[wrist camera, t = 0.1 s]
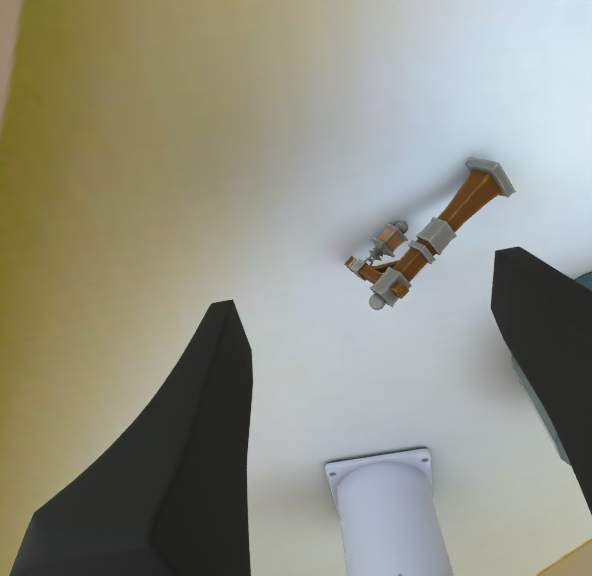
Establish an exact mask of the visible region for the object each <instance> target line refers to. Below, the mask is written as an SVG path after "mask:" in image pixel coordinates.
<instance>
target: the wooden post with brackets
mask: <svg viewBox="0 0 592 576" xmlns="http://www.w3.org/2000/svg"><path fill="white" fill-rule="evenodd" d="M465 165H466V166H467V168H468V169H469V171H470V174H469V176H468V177H467V179H466V181H465V183H464V184H463V185H462V187H461V188H460V190H459V191H458V192H457V194H456V195H455V197H454V198H453V199H452V201H451V202H450V204H449V205H448V206H447V208H446V209H445V210H444V211H443V212H442V213H441V215H440V216H439V217H438V218H435V217H433V218H432V220H431V221H430V223H429V224H428V225H427V226H426V227H425V228H424V229H423V230H422V232H420V233H419V234H417V235H416V236H417V237H418V240H417V241H416V242H415V241H413V240H411V242H410V243H409V244H408V246H409V247H410V249H409V250H408V251H407V252H406V254H405V255H404V256H403V257H402V258H401V259H400V260H398V261H394V262H390V263H386V264H382V265H379V266H371V265H372V264H373V261H374V260H375V259H376V260H380V261H382V260H381V258H380V257H379V255H380V256H382V257H383V254H384V255H389V256H392V257H395V255H394V254H393V251H394V250H395V249H396V248H397V247H398V246H399V245H401V244H402V243H403V242H404V241H408V239H407V238H406V237H405V236H404V233H406V232H407V230H408V225H407V223H406V222H404V221H399V222H397V223H396V225H395V226H393V225H391V224H389V223H387V227H386V229H385V230H384V231H383V232H382V233H381V235H380V236H379V237H378V238H377V239H376V238H374V237H372V240H373V242H374V244H375V248H373V249H374V251H375V252H374V251H372V250H369V251H370V254H371V255H370V257H369V258H367V259H366V260H365V261H362V260H360V259H358V260H357V259H356V258H353V257H352V256H351V258H350V259H349V260H348V261H347V262H346V263H345V265H346V266H347V267H348V268H349V269H350V270H351V271H352V272H354V273H355V274H356V275H357V276H358V277H359V278H361V279H363V280H364V281H365V280H368V281H370V282H371V283H373V284H374V285H373V286H371V287H370V289H371V290H372V291H373V292H374V293H375V294H374V295H372V296H371V297H370V299H369V304H370V306H371V308H373V309H375V310H380V309H382V308H383V307H384V305H385V303H386V304H388V305H390V306H391V307H393V306H394V304H395V302H396V301H397V300H398V299H399V298H401V299H402V298H403V297H404V296H405V295H406V294H407V293H408V291H409V290H408V288H410V287H411V284H410V283H409V282H410V281H411V280H412V279H413V278H414V277H415V275H416V274H417V273H418V272H419V271H420V270H421V269H422V268H423V267H424V266H425V265H426V264H427V262H428V263H430V264H432V262H433V261H434V260H435V258H434V257H433V256H434V255H435V254H438V255H440V254H441V252H442V251H443V249H444V248H445V247H446V246H447V245H448V243H449V242H450V241H451V240H452V239H454V238H455V237H456V234H455V232H456V231H457V230H458V229H459V228H460V227H461V226H462V224H463V223H464V222H465V221H467V220H468V219H469V218H470V217H471V216H472V215H474V214H475V213H476V212H477V211H478V210H479V209H481V208H482V207H483V206H484V205H485V204H486V203H488V202H489V201H490V200H492V199H493V198H494V197H496V196H497V195H501V196H505V197H509V196H510V195H511V194H512V193H515V192H516V191H515V190H514V188H513V186H512V184H511V183H510V181H509V179H508V177H507V176H506V174H505V172H504V171H503V169H502V167H501V165H500V164H499V163H498V162H493V161H487V160H481V159H475V158H470V160H469V162H468V163H467V164H465ZM371 257H373V258H374V259H371ZM367 260H369V261H371V264H370V265H368V264H367V263H366V261H367ZM382 273H384V274H382Z"/></svg>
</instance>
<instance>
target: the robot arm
mask: <svg viewBox="0 0 592 576" xmlns="http://www.w3.org/2000/svg"><path fill="white" fill-rule="evenodd" d="M491 310H492V312H493V315H494V317H495V320H496V322H497V325H498V327H499V329H500V332H501V334H502V336H503V339H504V341H505V342H506V344H507V346H508V348H509V349H510V351H511V353H512V354H513V356H514V358H515V360H516V361H517V363H518V365H519V366H520V368H521V370H522V371H523V373H524V375H525V376H526V378H527V380H528V381H529V383H530V385H531V386H532V388H533V390H534V392H535V393H536V395H537V397H538V398H539V400H540V402H541V403H542V405H543V407H544V409H545V410H546V412H547V414H548V416H549V418H550V420H551V422H552V424H553V426H554V428H555V430H556V433H557V435H558V437H559V439H560V441H561V443H562V446H563V448H564V450H565V452H566V454H567V457H568V459H569V461H570V464H571V466H572V468H573V471H574V473H575V475H576V478H577V480H578V482H579V485H580V487H581V489H582V492H583V494H584V497H585V499H586V502H587V504H588V507H589V509H590V512H591V514H592V291H591V290H590V289H588V288H586V287H584V286H583V285H581V284H579V283H578V282H576V281H574V280H573V279H571V278H569V277H568V276H566V275H564V274H563V273H561V272H559V271H558V270H556V269H555V268H553V267H551V266H550V265H548V264H547V263H545V262H543V261H542V260H540V259H539V258H537V257H535V256H534V255H532V254H531V253H529V252H527V251H526V250H524V249H522V248H521V247H513V248H508V249H502V250H497V251H495V261H494V274H493V286H492V299H491ZM252 388H253V371H252V352H251V348H250V345H249V342H248V339H247V337H246V334H245V331H244V329H243V326H242V323H241V320H240V318H239V315H238V312H237V310H236V307H235V304H234V301H233V300H227V301H222V302H217V303H212V304H211V305H210V307H209V308H208V310H207V312H206V314H205V316H204V317H203V319H202V321H201V323H200V325H199V327H198V328H197V330H196V332H195V334H194V336H193V337H192V339H191V341H190V343H189V344H188V346H187V348H186V349H185V351H184V353H183V354H182V356H181V358H180V359H179V361H178V362H177V364H176V366H175V367H174V368H173V370H172V371H171V373H170V374H169V376H168V377H167V379H166V380H165V382H164V383H163V385H162V386H161V388H160V389H159V390H158V392H157V393H156V394H155V396H154V397H153V398H152V400H151V401H150V402H149V404H148V405H147V406H146V407H145V409H144V410H143V411H142V412H141V414H140V415H139V416H138V417H137V418H136V419H135V421H134V422H133V423H132V424H131V425H130V426H129V427H128V428H127V429H126V430H125V431H124V432H123V433H122V435H121V436H120V437H119V438H118V439H117V440H116V441H115V442H114V443H113V444H112V445H111V446H110V447H109V448H108V449H107V450H106V451H105V452H104V453H103V454H102V455H101V456H100V457H99V458H98V459H97V460H96V461H95V462H94V463H93V464H92V465H90V466H89V467H88V468H87V469H86V470H85V471H84V472H83V473H82V474H81V475H79V476H78V477H77V478H76V479H75V480H74V481H73V482H71V483H70V484H69V485H68V486H67V487H65V488H64V489H63V490H62V491H60V492H59V493H58V494H57V495H56V496H54V497H53V498H52V499H51V500H49V501H48V502H47V503H46V504H44V505H43V506H42V507H41V508H39V509H38V510H37V511H35V512H34V514H33V517H32V519H31V521H30V524H29V526H28V528H27V530H26V533H25V536H24V538H23V541H22V544H21V546H20V549H19V552H18V554H17V557H16V559H15V562H14V565H13V567H12V570H11V573H10V576H251V570H250V552H249V531H248V504H247V451H248V438H249V426H250V414H251V402H252ZM325 472H326V475H327V478H328V482H329V485H330V489H331V492H332V495H333V499H334V502H335V505H336V509H337V512H338V516H339V519H340V523H341V531H342V539H343V547H344V556H345V564H346V572H347V576H454V574H453V571H452V567H451V564H450V560H449V557H448V553H447V549H446V546H445V542H444V539H443V535H442V532H441V528H440V525H439V521H438V518H437V514H436V510H435V507H434V503H433V498H432V468H431V453H430V450H428V449H417V450H411V451H404V452H398V453H391V454H385V455H378V456H372V457H365V458H359V459H352V460H346V461H339V462H333V463H328V464H326V466H325Z"/></svg>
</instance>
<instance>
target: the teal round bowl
mask: <svg viewBox="0 0 592 576" xmlns="http://www.w3.org/2000/svg"><path fill="white" fill-rule="evenodd" d="M574 281H576V282H578V283H579V284H581V285H583V286H584V287H586V288H588V289H590V290H591V291H592V272H591V273H589V274H586V275H584V276H582V277H580V278H578V279H576V280H574ZM512 364H513V368H514V370H515V373H516V375H517V377H518V379H519V381H520V384H521V386H522V387H523V389H524V391H525V393H526V395H527V397H528V399H529V400H530V402H531V404H532V406H533V408H534V410H535V412H536V413H537V415H538V417H539V419H540V421H541V423H542V425H543V426H544V428H545V430H546V432H547V434H548V436H549V438H550V439H551V441H552V443H553V445H554V447H555V449H556V451H557V452H558V454H559V456H560V458H561V459H562V460H563V461H565V462H566V463H568V464H569V465H570V466H571V464H570V461H569V459H568V457H567V454H566V452H565V450H564V448H563V446H562V443H561V441H560V439H559V437H558V435H557V433H556V430H555V428H554V426H553V424H552V422H551V420H550V418H549V416H548V414H547V412H546V410H545V409H544V407H543V405H542V403H541V402H540V400H539V398H538V397H537V395H536V393H535V392H534V390H533V388H532V386H531V385H530V383H529V381H528V380H527V378H526V376H525V375H524V373H523V371H522V370H521V368H520V366H519V365H518V363H517V361H516V360H515V358H514V356H513V354H512Z"/></svg>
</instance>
